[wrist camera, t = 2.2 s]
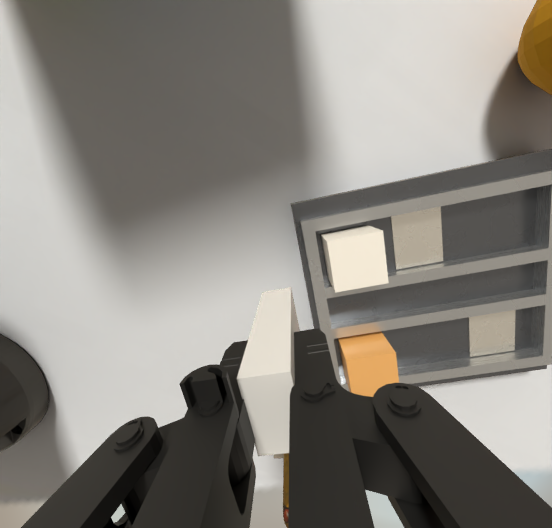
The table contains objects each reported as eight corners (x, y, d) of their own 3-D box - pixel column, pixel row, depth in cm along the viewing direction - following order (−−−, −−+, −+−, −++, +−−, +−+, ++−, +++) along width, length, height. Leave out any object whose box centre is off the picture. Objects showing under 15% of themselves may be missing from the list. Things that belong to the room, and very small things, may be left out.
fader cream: (328, 278, 23) (335, 292, 20) (320, 234, 22) (326, 241, 19) (373, 270, 23) (388, 283, 19) (368, 225, 22) (383, 230, 18)
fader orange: (343, 373, 25) (352, 400, 22) (337, 337, 25) (345, 360, 21) (385, 367, 25) (400, 393, 22) (380, 330, 24) (395, 352, 21)
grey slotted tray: (325, 385, 29) (329, 408, 26) (290, 203, 24) (291, 204, 21) (527, 356, 27) (559, 377, 24) (535, 151, 22) (575, 144, 19)
